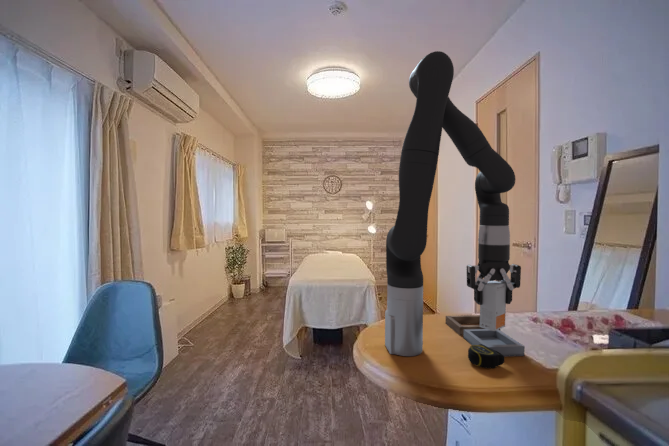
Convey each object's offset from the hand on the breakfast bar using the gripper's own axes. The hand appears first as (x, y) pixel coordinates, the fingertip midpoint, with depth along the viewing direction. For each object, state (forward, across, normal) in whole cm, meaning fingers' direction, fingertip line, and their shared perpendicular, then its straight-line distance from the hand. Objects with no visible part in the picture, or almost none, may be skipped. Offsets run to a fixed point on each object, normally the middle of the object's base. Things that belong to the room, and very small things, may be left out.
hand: (493, 303), depth 86 cm
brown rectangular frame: (+12, +1, +13) cm, 18 cm away
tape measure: (+12, -7, -9) cm, 17 cm away
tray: (+12, 0, 0) cm, 12 cm away
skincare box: (+7, 0, 0) cm, 7 cm away
